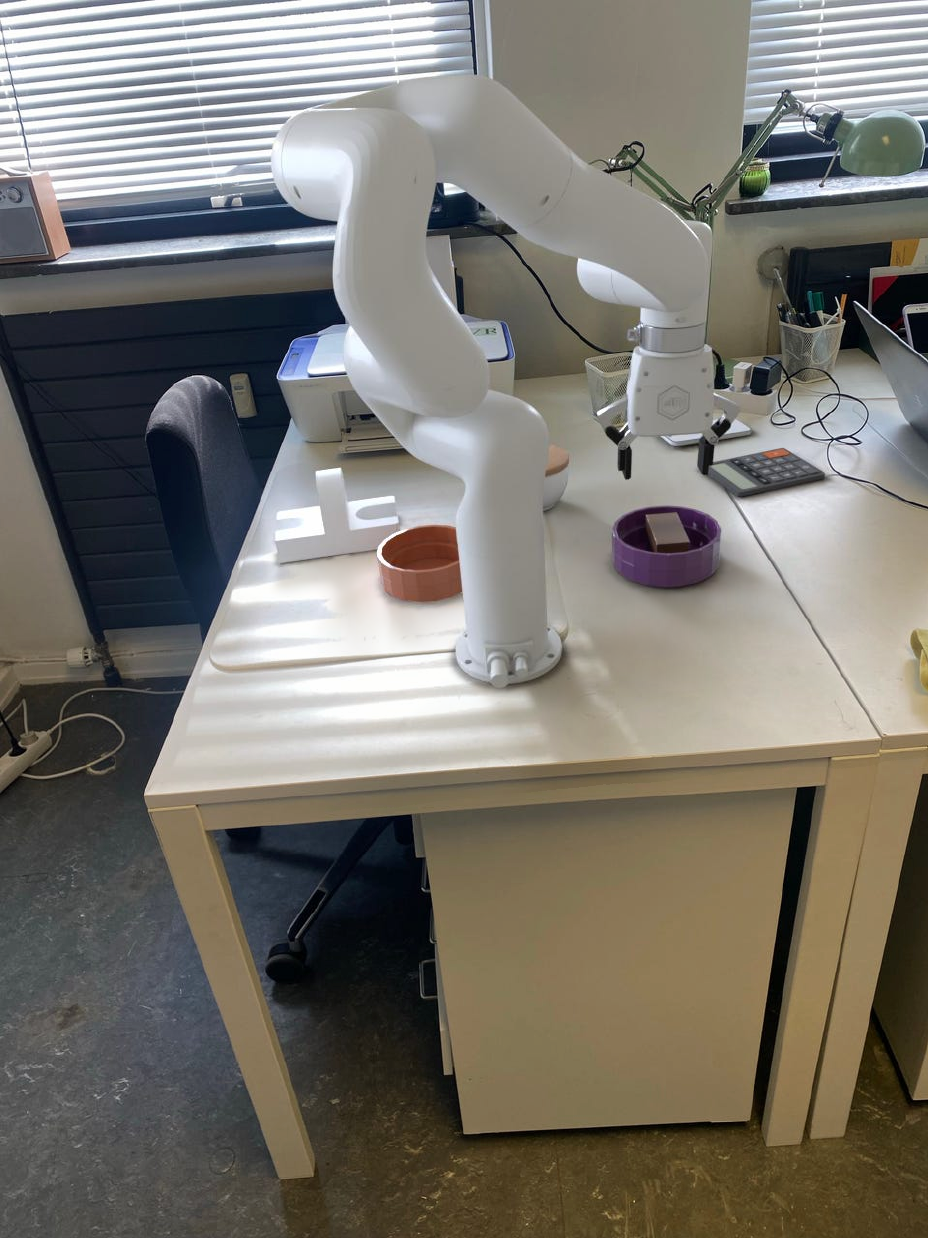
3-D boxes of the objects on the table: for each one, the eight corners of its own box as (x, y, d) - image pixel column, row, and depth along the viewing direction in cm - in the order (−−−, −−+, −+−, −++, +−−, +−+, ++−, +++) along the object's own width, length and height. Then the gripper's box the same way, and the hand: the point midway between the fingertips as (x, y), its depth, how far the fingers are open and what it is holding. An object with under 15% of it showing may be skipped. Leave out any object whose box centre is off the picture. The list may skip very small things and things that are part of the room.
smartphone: (753, 430, 155) (673, 442, 153) (753, 436, 156) (673, 449, 153) (732, 416, 161) (655, 428, 159) (732, 422, 162) (655, 434, 159)
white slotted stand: (279, 563, 131) (264, 494, 125) (281, 533, 139) (267, 467, 133) (402, 545, 133) (392, 476, 127) (397, 517, 141) (387, 450, 135)
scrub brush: (688, 574, 118) (690, 541, 115) (656, 576, 118) (657, 544, 116) (675, 543, 125) (676, 512, 123) (644, 545, 125) (645, 514, 123)
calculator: (826, 472, 138) (738, 491, 136) (825, 478, 139) (738, 497, 136) (783, 446, 148) (700, 463, 145) (782, 451, 148) (700, 468, 146)
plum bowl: (730, 585, 116) (733, 550, 113) (620, 593, 116) (621, 558, 113) (705, 535, 127) (707, 501, 125) (606, 542, 128) (606, 509, 125)
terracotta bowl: (478, 601, 118) (475, 567, 115) (378, 608, 118) (373, 575, 116) (477, 552, 129) (474, 521, 126) (385, 559, 129) (380, 528, 127)
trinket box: (518, 485, 147) (515, 430, 142) (580, 493, 142) (579, 437, 137) (489, 513, 139) (485, 456, 134) (554, 523, 134) (552, 465, 129)
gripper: (602, 349, 102) (599, 489, 111) (755, 340, 102) (740, 481, 111) (594, 332, 109) (592, 465, 118) (738, 323, 108) (725, 458, 117)
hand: (664, 473), depth 114 cm, fingers open, 9 cm apart
